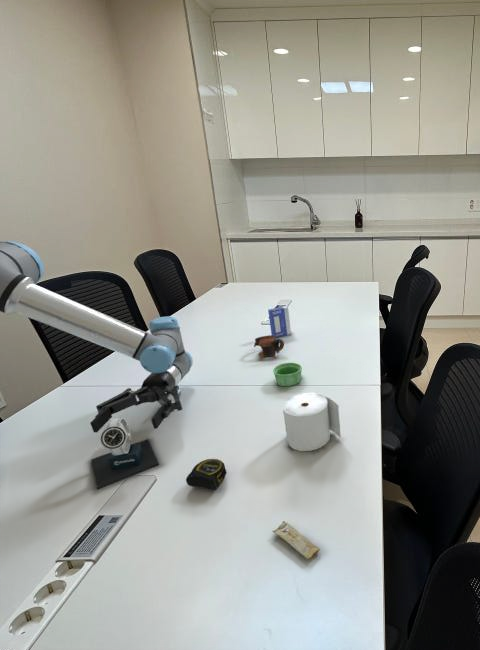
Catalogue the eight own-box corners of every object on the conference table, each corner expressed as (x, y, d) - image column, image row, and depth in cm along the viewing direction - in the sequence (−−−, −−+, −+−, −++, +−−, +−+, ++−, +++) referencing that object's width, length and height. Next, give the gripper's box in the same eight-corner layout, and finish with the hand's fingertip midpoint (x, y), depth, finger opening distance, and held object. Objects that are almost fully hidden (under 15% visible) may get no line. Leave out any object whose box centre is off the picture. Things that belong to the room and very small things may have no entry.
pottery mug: (251, 361, 140) (247, 339, 141) (264, 361, 149) (260, 340, 150) (281, 354, 138) (277, 331, 138) (292, 355, 147) (288, 333, 148)
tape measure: (186, 489, 81) (182, 475, 80) (207, 468, 87) (204, 454, 86) (214, 495, 79) (210, 481, 78) (234, 473, 85) (231, 459, 84)
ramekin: (294, 389, 119) (292, 376, 118) (269, 385, 122) (267, 372, 120) (307, 376, 127) (306, 364, 125) (283, 372, 130) (282, 361, 128)
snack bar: (321, 547, 67) (309, 555, 64) (319, 555, 67) (307, 563, 64) (285, 519, 72) (272, 525, 70) (283, 527, 72) (271, 533, 70)
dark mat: (91, 460, 90) (91, 459, 90) (148, 440, 97) (147, 438, 97) (97, 489, 82) (96, 487, 82) (159, 464, 89) (158, 463, 88)
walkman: (274, 338, 159) (270, 310, 154) (271, 336, 161) (267, 308, 156) (291, 333, 163) (288, 306, 158) (289, 331, 165) (285, 304, 160)
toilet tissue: (282, 433, 98) (277, 399, 94) (326, 420, 103) (323, 387, 99) (294, 457, 90) (289, 420, 86) (341, 441, 95) (339, 406, 91)
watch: (109, 476, 85) (93, 434, 80) (119, 453, 92) (104, 414, 87) (137, 470, 86) (123, 429, 82) (145, 448, 93) (132, 409, 89)
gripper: (209, 391, 112) (182, 435, 92) (120, 396, 110) (73, 442, 91) (204, 367, 109) (175, 408, 89) (112, 373, 107) (62, 415, 88)
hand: (123, 425), depth 90 cm, fingers open, 13 cm apart
